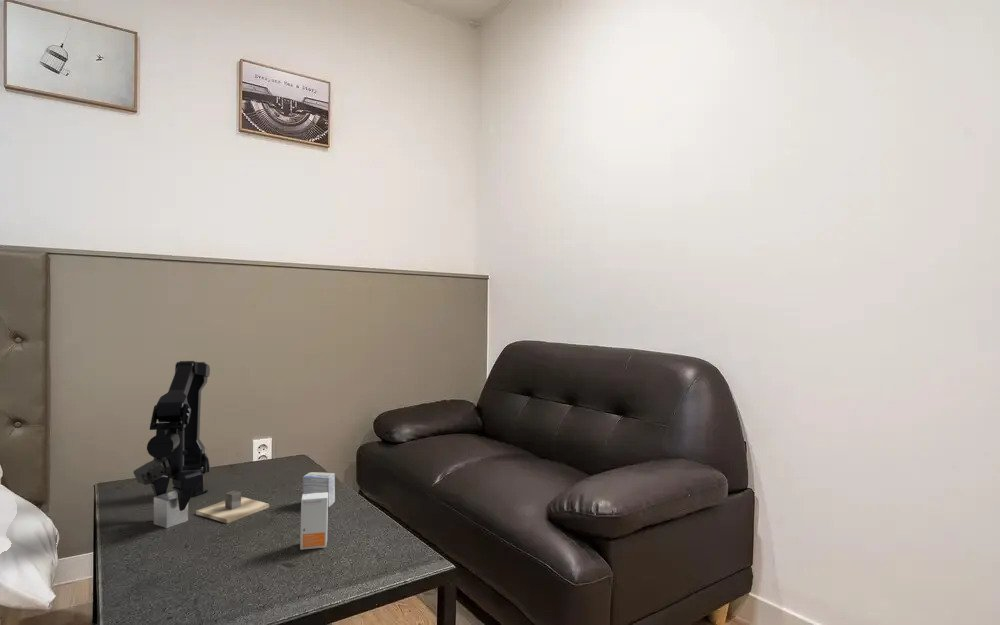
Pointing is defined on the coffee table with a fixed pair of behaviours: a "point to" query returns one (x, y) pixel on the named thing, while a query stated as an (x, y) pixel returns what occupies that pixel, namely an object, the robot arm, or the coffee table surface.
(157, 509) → the grey block
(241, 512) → the post board
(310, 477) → the medicine box
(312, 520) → the skincare box
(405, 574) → the coffee table surface
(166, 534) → the coffee table surface
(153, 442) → the robot arm
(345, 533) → the coffee table surface
